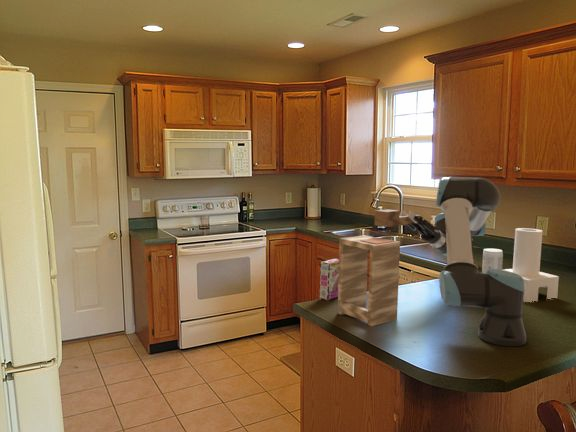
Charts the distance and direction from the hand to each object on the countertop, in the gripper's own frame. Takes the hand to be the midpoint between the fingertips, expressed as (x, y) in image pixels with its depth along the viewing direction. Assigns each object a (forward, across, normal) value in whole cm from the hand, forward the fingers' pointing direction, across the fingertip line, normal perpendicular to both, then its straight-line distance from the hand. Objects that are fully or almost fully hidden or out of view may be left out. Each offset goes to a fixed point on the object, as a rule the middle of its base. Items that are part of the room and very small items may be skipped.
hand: (405, 213), depth 200 cm
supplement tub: (-82, 0, +3) cm, 82 cm away
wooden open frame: (+4, -4, -46) cm, 47 cm away
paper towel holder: (-67, -26, -6) cm, 72 cm away
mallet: (+1, 0, -5) cm, 5 cm away
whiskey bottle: (-95, +27, +11) cm, 100 cm away
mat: (+19, -8, -20) cm, 29 cm away
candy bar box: (-2, +22, -43) cm, 49 cm away
